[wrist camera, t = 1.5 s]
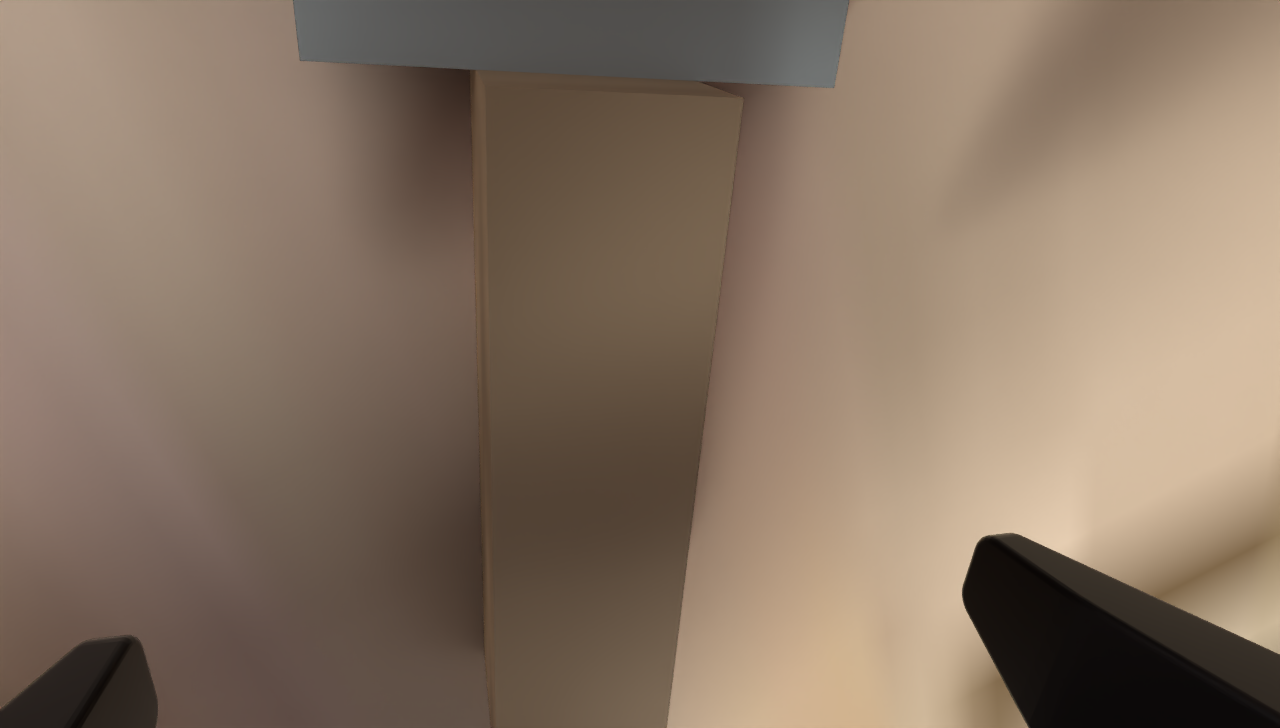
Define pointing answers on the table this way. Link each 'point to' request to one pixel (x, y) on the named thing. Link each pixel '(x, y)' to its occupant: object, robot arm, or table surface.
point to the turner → (591, 306)
